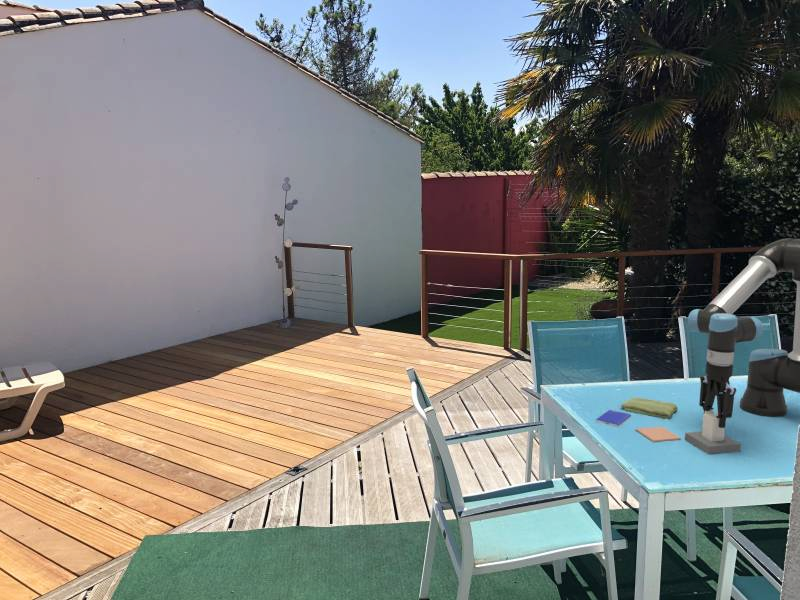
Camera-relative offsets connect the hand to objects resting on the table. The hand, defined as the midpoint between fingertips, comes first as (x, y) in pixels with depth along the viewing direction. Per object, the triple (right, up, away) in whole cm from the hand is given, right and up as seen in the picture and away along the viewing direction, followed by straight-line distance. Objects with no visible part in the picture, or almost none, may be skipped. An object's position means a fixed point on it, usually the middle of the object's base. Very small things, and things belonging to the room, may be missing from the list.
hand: (713, 433), depth 191 cm
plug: (0, -4, +1) cm, 4 cm away
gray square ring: (0, -4, +1) cm, 4 cm away
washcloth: (-7, +1, +33) cm, 33 cm away
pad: (-14, -3, +9) cm, 17 cm away
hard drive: (-24, -1, +24) cm, 33 cm away
